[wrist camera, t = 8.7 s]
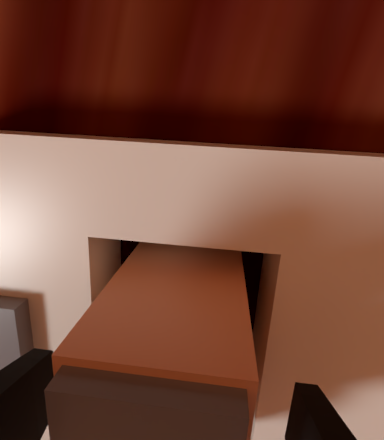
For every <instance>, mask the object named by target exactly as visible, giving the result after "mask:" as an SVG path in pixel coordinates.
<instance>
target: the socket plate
mask: <svg viewBox="0 0 384 440" xmlns="http://www.w3.org/2000/svg"><path fill="white" fill-rule="evenodd" d="M121 240H128V241H138V242H149V243H160V244H171V245H182V246H193V247H204V248H214V249H225V250H236V251H247V252H258V253H263V261H262V268H261V275H260V283H259V290H258V298H257V305H256V312H255V320H254V327H253V341H254V349H255V356H256V363H257V371H258V378H259V385H258V392H257V399H256V405H255V412H254V419H253V425H252V432H251V439H250V440H285V432H286V427H287V422H288V417H289V411H290V406H291V401H292V396H293V391H294V386H295V382H299V383H307V384H315V385H318V386H319V387H320V389H321V390H322V391H323V393H324V394H325V396H326V397H327V398H328V400H329V401H330V403H331V404H332V406H333V407H334V408H335V410H336V411H337V413H338V414H339V415H340V417H341V418H342V420H343V421H344V422H345V424H346V425H347V427H348V428H349V429H350V431H351V432H352V433H353V435H354V436H355V438H356V439H357V440H384V153H368V152H352V151H335V150H319V149H302V148H286V147H269V146H253V145H236V144H220V143H203V142H187V141H170V140H154V139H137V138H121V137H104V136H88V135H71V134H55V133H38V132H22V131H5V130H0V370H1V369H3V368H4V367H6V366H7V365H9V364H10V363H12V362H13V361H15V360H16V359H18V358H19V357H21V356H22V355H24V354H25V353H27V352H29V351H30V350H32V349H34V348H37V349H45V350H52V351H53V353H54V351H55V350H56V349H57V347H58V346H59V345H60V344H61V342H62V341H63V340H64V339H65V337H66V336H67V335H68V333H69V332H70V331H71V330H72V328H73V327H74V326H75V324H76V323H77V322H78V321H79V319H80V318H81V317H82V315H83V314H84V313H85V312H86V310H87V309H88V308H89V306H90V305H91V304H92V303H93V301H94V300H95V299H96V298H97V296H98V295H99V294H100V292H101V291H102V290H103V289H104V287H105V286H106V285H107V283H108V282H109V281H110V280H111V278H112V277H113V276H114V274H115V273H116V272H117V271H118V269H119V268H120V267H121ZM41 440H50V436H49V428H48V426H47V428H46V430H45V432H44V434H43V436H42V438H41Z"/></svg>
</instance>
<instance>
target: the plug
mask: <svg viewBox="0 0 384 440" xmlns="http://www.w3.org/2000/svg"><path fill="white" fill-rule="evenodd" d="M52 365H53V375H54V377H53V378H52V380H51V381H50V383H49V384H48V385H47V387H46V388H45V390H44V394H45V402H46V411H47V419H48V428H49V436H50V440H250V439H251V432H252V425H253V419H254V412H255V405H256V399H257V392H258V385H259V378H258V371H257V363H256V356H255V349H254V341H253V334H252V327H251V320H250V312H249V305H248V298H247V290H246V283H245V276H244V269H243V261H242V254H241V251H236V250H225V249H214V248H204V247H193V246H182V245H171V244H160V243H149V242H139V244H138V245H137V246H136V248H135V249H134V250H133V251H132V253H131V254H130V255H129V257H128V258H127V259H126V260H125V262H124V263H123V264H122V266H121V267H120V268H119V269H118V271H117V272H116V273H115V274H114V276H113V277H112V278H111V280H110V281H109V282H108V283H107V285H106V286H105V287H104V289H103V290H102V291H101V292H100V294H99V295H98V296H97V298H96V299H95V300H94V301H93V303H92V304H91V305H90V306H89V308H88V309H87V310H86V312H85V313H84V314H83V315H82V317H81V318H80V319H79V321H78V322H77V323H76V324H75V326H74V327H73V328H72V330H71V331H70V332H69V333H68V335H67V336H66V337H65V339H64V340H63V341H62V342H61V344H60V345H59V346H58V347H57V349H56V350H55V351H54V353H53V354H52Z"/></svg>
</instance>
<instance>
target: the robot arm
mask: <svg viewBox="0 0 384 440" xmlns="http://www.w3.org/2000/svg"><path fill="white" fill-rule="evenodd" d="M52 354H53V351H52V350H45V349H37V348H34V349H32V350H30V351H29V352H27V353H25V354H24V355H22V356H21V357H19V358H18V359H16V360H15V361H13V362H12V363H10V364H9V365H7V366H6V367H4V368H3V369H1V370H0V440H41V438H42V436H43V434H44V432H45V430H46V428H47V426H48V419H47V411H46V402H45V394H44V390H45V388H46V387H47V385H48V384H49V383H50V381H51V380H52V378H53V377H54V375H53V365H52ZM285 440H357V439H356V438H355V436H354V435H353V433H352V432H351V431H350V429H349V428H348V427H347V425H346V424H345V422H344V421H343V420H342V418H341V417H340V415H339V414H338V413H337V411H336V410H335V408H334V407H333V406H332V404H331V403H330V401H329V400H328V398H327V397H326V396H325V394H324V393H323V391H322V390H321V389H320V387H319V386H318V385H315V384H307V383H299V382H295V386H294V391H293V396H292V401H291V406H290V411H289V417H288V422H287V427H286V432H285Z"/></svg>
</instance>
